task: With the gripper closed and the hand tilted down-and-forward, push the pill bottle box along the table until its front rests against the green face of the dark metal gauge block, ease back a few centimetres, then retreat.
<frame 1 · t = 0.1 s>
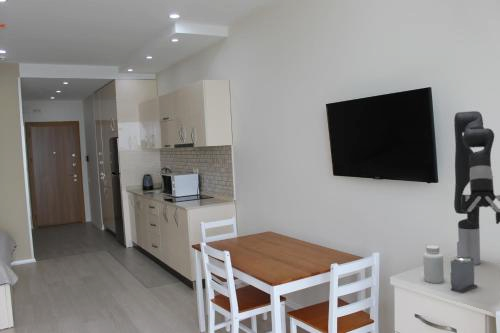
hand: (484, 223, 156), 31 cm above the table, tool tilted 20°, fingers open, 8 cm apart
pill bottle: (434, 280, 189), on the table
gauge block: (463, 288, 178), on the table
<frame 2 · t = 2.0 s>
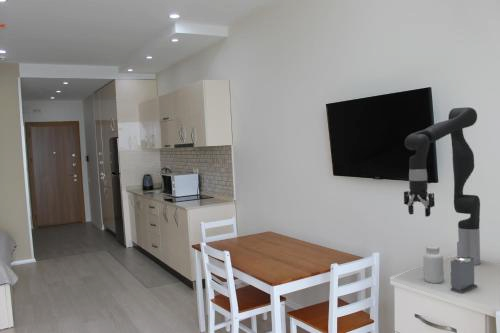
hand: (419, 215, 193), 28 cm above the table, tool pointing down, fingers open, 7 cm apart
nothing on the table moved.
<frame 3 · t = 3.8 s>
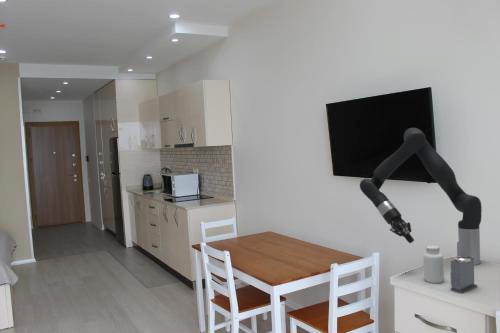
hand: (412, 241, 197), 15 cm above the table, tool tilted 45°, fingers closed
nothing on the table moved.
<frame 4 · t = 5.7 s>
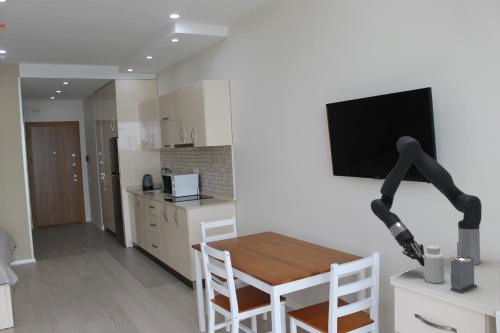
hand: (425, 265, 192), 6 cm above the table, tool tilted 45°, fingers closed
pill bottle: (434, 281, 189), on the table, touching gripper
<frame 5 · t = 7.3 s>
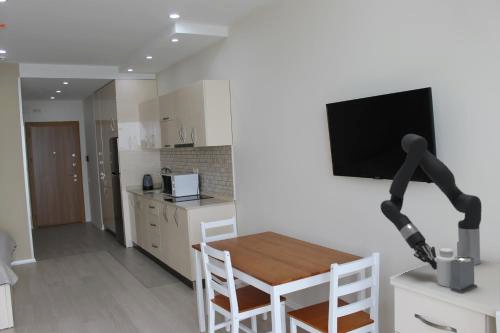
hand: (437, 268, 187), 6 cm above the table, tool tilted 45°, fingers closed
pill bottle: (447, 284, 184), on the table, touching gripper
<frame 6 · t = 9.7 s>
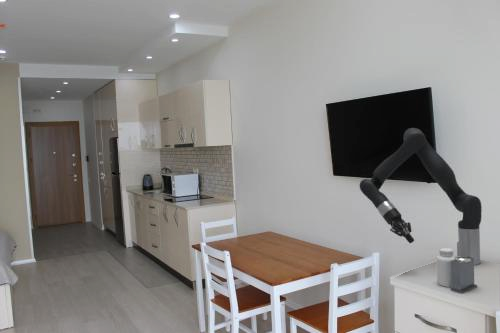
hand: (412, 241, 197), 15 cm above the table, tool tilted 45°, fingers closed
pill bottle: (447, 284, 184), on the table
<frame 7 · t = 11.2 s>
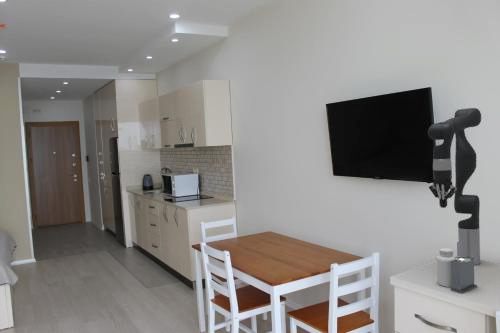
hand: (443, 207, 192), 31 cm above the table, tool pointing down, fingers closed
nothing on the table moved.
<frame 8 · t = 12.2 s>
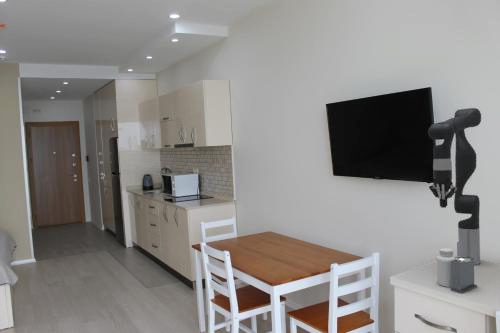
hand: (443, 207, 192), 31 cm above the table, tool pointing down, fingers closed
nothing on the table moved.
at the end: pill bottle inside the target area (0.4 cm from its centre), on the table; pill bottle tilted 0° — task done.
